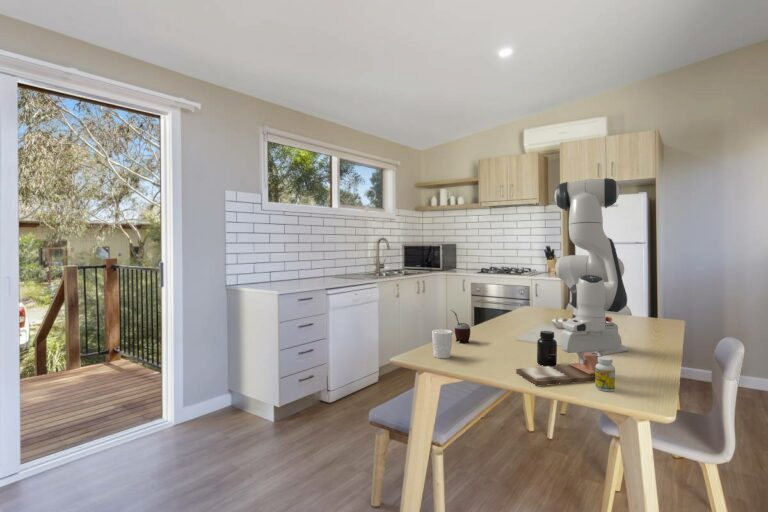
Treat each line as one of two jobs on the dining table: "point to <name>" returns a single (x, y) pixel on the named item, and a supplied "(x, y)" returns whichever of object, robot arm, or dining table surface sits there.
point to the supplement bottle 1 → (547, 349)
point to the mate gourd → (462, 331)
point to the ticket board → (554, 375)
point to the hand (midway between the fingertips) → (590, 363)
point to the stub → (591, 363)
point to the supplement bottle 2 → (605, 374)
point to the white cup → (442, 343)
